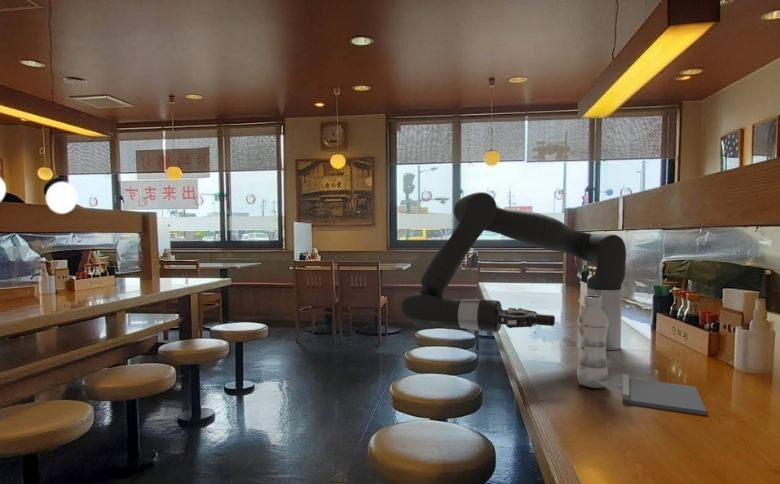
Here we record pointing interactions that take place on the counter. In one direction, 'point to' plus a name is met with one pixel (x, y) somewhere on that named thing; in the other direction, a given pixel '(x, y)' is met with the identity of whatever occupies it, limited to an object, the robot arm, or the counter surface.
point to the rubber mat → (662, 395)
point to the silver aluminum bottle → (592, 343)
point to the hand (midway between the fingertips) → (554, 320)
